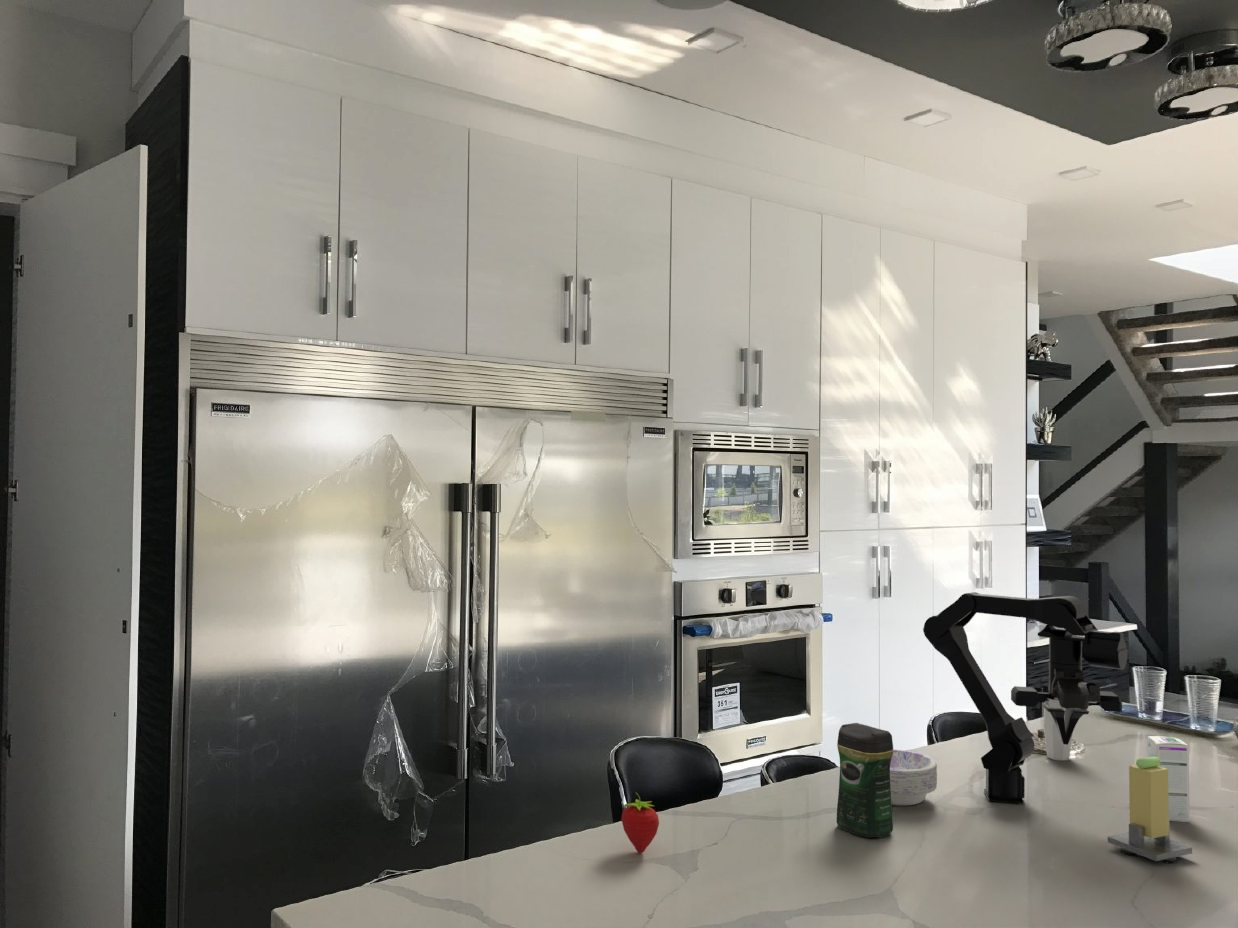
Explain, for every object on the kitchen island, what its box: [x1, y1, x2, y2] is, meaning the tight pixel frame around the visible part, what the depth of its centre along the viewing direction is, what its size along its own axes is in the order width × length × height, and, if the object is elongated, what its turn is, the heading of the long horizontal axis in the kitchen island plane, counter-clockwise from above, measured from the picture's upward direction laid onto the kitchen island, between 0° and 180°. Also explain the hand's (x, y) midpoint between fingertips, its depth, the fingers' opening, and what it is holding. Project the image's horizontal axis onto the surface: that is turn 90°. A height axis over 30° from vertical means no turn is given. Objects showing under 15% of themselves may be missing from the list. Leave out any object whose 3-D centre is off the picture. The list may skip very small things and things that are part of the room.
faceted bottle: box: [1043, 698, 1073, 762], centre depth 221 cm, size 6×6×22 cm
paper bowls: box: [890, 748, 938, 807], centre depth 189 cm, size 15×15×8 cm
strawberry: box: [621, 792, 660, 854], centre depth 158 cm, size 6×8×10 cm
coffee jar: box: [836, 722, 894, 838], centre depth 171 cm, size 10×8×19 cm
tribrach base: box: [1107, 821, 1193, 865], centre depth 162 cm, size 9×9×5 cm
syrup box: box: [1147, 735, 1191, 823], centre depth 182 cm, size 6×6×14 cm
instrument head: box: [1128, 757, 1170, 838], centre depth 162 cm, size 4×4×13 cm
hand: (1065, 743), depth 183 cm, fingers closed
